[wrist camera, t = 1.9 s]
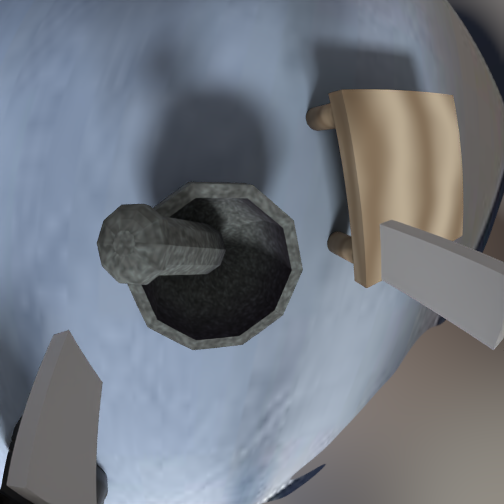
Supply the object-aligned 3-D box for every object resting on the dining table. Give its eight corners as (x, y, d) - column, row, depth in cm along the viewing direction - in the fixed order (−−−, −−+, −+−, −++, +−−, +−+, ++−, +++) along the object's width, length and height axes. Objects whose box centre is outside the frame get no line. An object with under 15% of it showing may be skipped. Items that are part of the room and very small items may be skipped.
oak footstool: (324, 262, 25) (366, 288, 20) (297, 103, 20) (341, 89, 15) (421, 221, 29) (462, 235, 23) (408, 99, 24) (452, 95, 18)
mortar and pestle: (283, 228, 23) (387, 286, 12) (213, 318, 24) (264, 427, 13) (170, 137, 18) (191, 102, 7) (95, 245, 19) (42, 336, 8)
